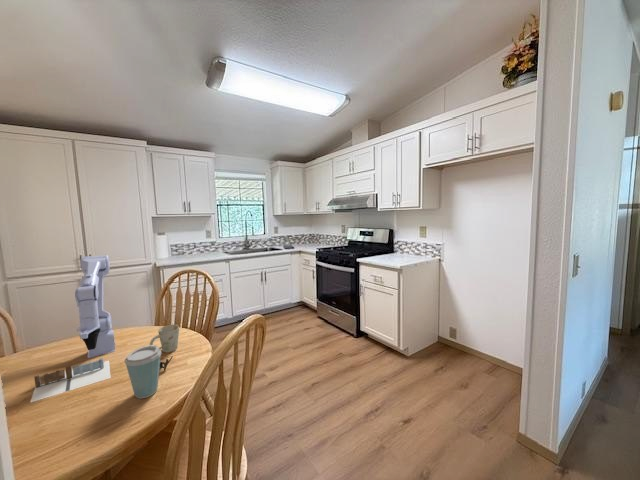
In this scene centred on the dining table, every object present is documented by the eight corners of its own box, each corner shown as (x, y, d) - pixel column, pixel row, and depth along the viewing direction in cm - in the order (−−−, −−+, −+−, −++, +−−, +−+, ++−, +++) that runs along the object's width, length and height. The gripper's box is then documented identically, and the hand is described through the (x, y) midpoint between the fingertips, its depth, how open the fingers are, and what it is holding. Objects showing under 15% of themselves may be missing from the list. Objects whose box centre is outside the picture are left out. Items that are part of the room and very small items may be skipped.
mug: (184, 347, 126) (182, 327, 125) (155, 360, 115) (154, 337, 114) (174, 343, 130) (172, 323, 129) (145, 354, 120) (144, 332, 119)
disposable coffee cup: (137, 407, 87) (134, 362, 85) (120, 396, 92) (117, 354, 91) (169, 388, 96) (167, 348, 95) (152, 379, 101) (150, 341, 100)
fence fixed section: (72, 376, 103) (71, 365, 103) (72, 378, 102) (71, 367, 102) (35, 386, 97) (34, 375, 97) (35, 388, 96) (33, 377, 96)
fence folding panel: (103, 366, 109) (103, 357, 109) (103, 367, 108) (103, 359, 108) (73, 374, 103) (72, 366, 103) (73, 376, 102) (72, 367, 102)
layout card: (109, 361, 114) (108, 360, 114) (110, 378, 102) (110, 377, 102) (37, 380, 101) (37, 379, 101) (30, 403, 89) (30, 402, 89)
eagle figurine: (176, 361, 112) (157, 354, 114) (170, 352, 108) (151, 346, 109) (163, 379, 107) (144, 372, 108) (156, 371, 102) (136, 364, 104)
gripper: (83, 311, 112) (85, 343, 113) (68, 324, 99) (71, 359, 100) (104, 309, 115) (106, 339, 116) (92, 321, 102) (95, 355, 103)
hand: (91, 348), depth 109 cm, fingers closed
